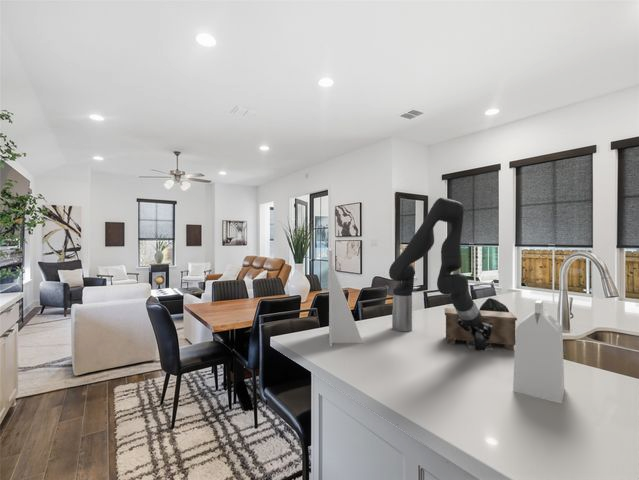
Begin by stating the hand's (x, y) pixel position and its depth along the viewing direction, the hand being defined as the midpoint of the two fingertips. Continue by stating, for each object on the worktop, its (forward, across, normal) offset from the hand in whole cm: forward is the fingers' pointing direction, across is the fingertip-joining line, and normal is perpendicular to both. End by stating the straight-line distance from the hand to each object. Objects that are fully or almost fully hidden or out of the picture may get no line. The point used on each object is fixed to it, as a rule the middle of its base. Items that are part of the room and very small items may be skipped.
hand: (482, 337), depth 134 cm
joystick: (+4, +2, +2) cm, 5 cm away
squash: (+34, +13, -27) cm, 45 cm away
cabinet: (+8, +4, -1) cm, 9 cm away
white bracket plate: (-21, +44, +28) cm, 56 cm away
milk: (-14, -28, +21) cm, 38 cm away
